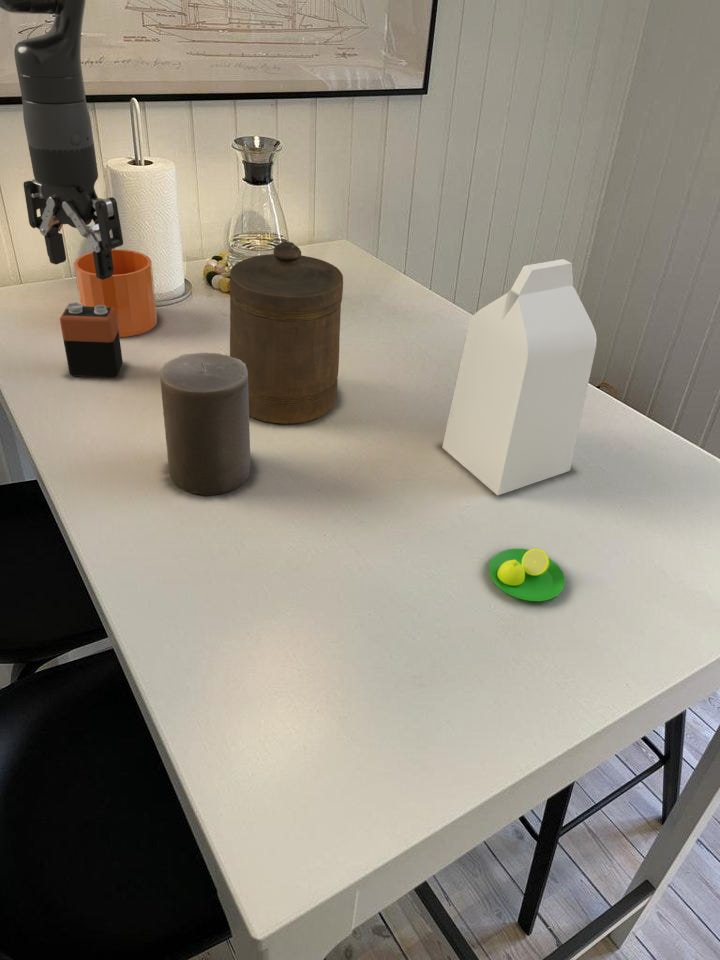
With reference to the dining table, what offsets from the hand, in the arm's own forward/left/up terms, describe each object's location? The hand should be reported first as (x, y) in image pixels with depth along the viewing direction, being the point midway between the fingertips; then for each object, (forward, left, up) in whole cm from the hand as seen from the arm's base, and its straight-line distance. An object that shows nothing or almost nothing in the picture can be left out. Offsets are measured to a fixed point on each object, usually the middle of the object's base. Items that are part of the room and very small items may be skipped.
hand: (81, 269), depth 100 cm
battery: (0, 0, -15) cm, 15 cm away
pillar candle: (+29, -10, -15) cm, 34 cm away
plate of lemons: (+68, -6, -15) cm, 70 cm away
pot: (-9, +14, -15) cm, 22 cm away
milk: (+58, +14, -15) cm, 62 cm away
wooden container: (+26, +10, -15) cm, 32 cm away
